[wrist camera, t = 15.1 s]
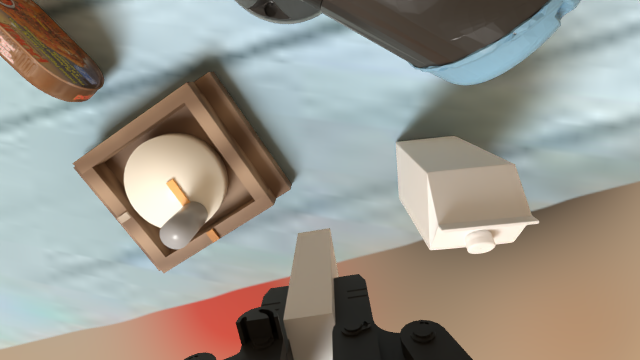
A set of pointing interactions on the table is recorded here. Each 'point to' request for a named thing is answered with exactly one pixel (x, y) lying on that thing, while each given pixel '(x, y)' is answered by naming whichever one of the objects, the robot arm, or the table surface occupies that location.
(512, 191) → the milk carton
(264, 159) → the wooden tray
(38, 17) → the tin
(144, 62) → the table surface
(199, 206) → the dial
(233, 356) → the robot arm
